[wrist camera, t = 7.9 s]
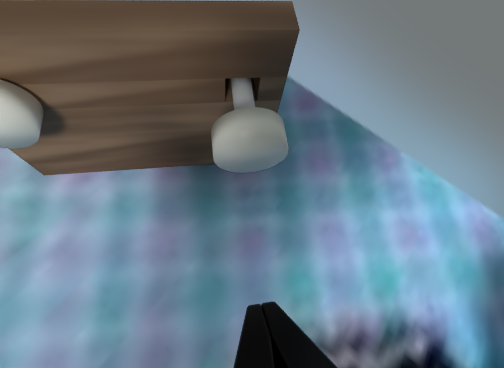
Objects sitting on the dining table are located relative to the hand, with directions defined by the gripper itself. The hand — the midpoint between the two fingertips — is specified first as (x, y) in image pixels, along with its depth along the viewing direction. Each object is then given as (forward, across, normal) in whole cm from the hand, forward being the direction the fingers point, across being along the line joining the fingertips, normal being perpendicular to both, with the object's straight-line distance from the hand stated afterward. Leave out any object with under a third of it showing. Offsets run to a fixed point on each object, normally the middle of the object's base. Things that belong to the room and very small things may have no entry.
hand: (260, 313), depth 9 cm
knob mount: (+19, +5, -1) cm, 20 cm away
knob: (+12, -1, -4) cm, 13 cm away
